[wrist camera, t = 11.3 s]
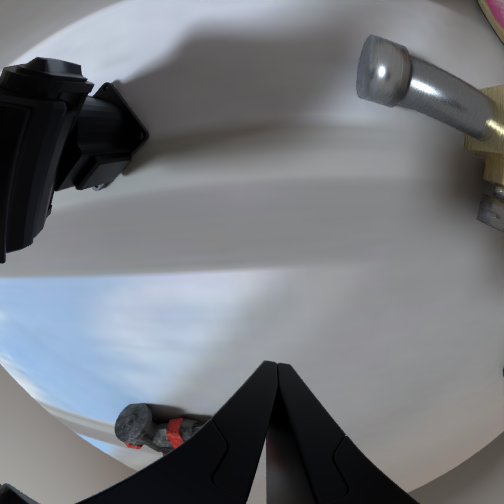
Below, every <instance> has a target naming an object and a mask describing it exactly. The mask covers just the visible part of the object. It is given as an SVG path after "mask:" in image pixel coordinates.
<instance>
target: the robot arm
mask: <svg viewBox="0 0 504 504" xmlns="http://www.w3.org/2000/svg"><path fill="white" fill-rule="evenodd" d="M93 87H94V84H93V83H91V82H88V81H87V78H85V77H83V75H82V73H81V65H78V64H75V63H71V62H67V61H62V60H58V59H52V58H42V57H36V58H35V59H33V60H32V61H30V62H28V63H27V64H20V65H14V66H9V67H5V68H3V71H2V74H1V76H0V263H5V261H6V253H10V252H14V251H18V250H21V249H23V248H25V247H27V246H29V245H31V244H32V243H33V238H34V237H36V236H37V234H38V233H39V232H40V231H41V230H42V229H43V227H44V224H45V220H46V218H47V217H48V216H49V215H50V214H51V209H52V205H51V203H52V198H53V194H54V191H60V190H63V189H66V188H70V187H73V186H75V188H76V189H77V190H83V189H87V188H90V187H92V188H93V189H94V190H95V191H99V190H101V189H102V188H103V187H104V186H105V185H106V184H107V183H108V182H112V181H113V180H114V179H115V178H116V177H117V176H118V174H119V173H120V172H121V171H122V170H123V169H124V168H125V167H126V166H127V165H128V164H129V163H130V161H131V159H132V155H133V154H134V153H135V152H136V151H137V150H138V149H139V148H140V147H141V146H142V145H143V144H144V143H145V142H146V141H147V139H148V137H149V133H148V131H147V130H146V128H145V127H144V126H143V124H142V123H141V122H140V120H139V119H138V118H137V116H136V115H135V114H134V112H133V111H132V110H131V108H130V107H129V106H128V104H127V103H126V102H125V100H124V99H123V98H122V96H121V95H120V94H119V92H118V91H117V90H116V88H115V87H114V85H113V84H112V83H108V82H106V83H104V84H103V85H102V86H101V87H100V88H99V90H98V91H97V92H96V93H95V94H94V95H93V96H88V93H91V91H92V89H93ZM107 87H108V89H107V91H106V88H107ZM141 133H143V138H142V139H141V138H140V134H141ZM97 185H99V186H97ZM345 435H346V434H345V433H344V432H343V430H342V429H341V428H340V427H339V425H338V424H337V423H336V422H335V421H334V419H333V418H332V417H331V416H330V414H329V413H328V412H327V411H326V409H325V408H324V407H323V406H322V404H321V403H320V402H319V401H318V399H317V398H316V397H315V396H314V394H313V393H312V392H311V390H310V389H309V388H308V387H307V385H306V384H305V383H304V382H303V380H302V379H301V378H300V376H299V375H298V374H297V372H296V371H295V370H294V369H293V367H292V366H291V365H290V364H285V363H278V364H277V363H276V362H272V361H266V360H265V361H263V362H262V363H261V365H260V366H259V367H258V368H257V369H256V370H255V371H254V373H253V374H252V375H251V376H250V377H249V378H248V379H247V380H246V381H245V383H244V384H243V385H242V386H241V387H240V388H239V389H238V390H237V391H236V392H235V393H234V395H233V396H232V397H231V398H230V399H229V400H228V401H227V402H226V403H225V404H224V405H223V406H222V407H221V408H220V409H219V410H218V411H217V412H216V413H215V414H214V415H213V416H212V417H211V419H210V420H208V421H207V422H206V423H205V424H204V425H203V426H202V427H201V428H200V429H199V430H198V431H197V432H195V433H194V434H193V435H192V436H191V437H190V438H189V439H187V440H186V441H185V442H183V443H182V444H181V445H179V446H178V447H176V448H175V449H174V450H172V451H171V452H169V453H167V454H166V455H164V456H163V457H161V458H160V459H158V460H157V461H155V462H153V463H152V464H150V465H148V466H147V467H145V468H143V469H142V470H140V471H138V472H137V473H135V474H133V475H131V476H130V477H128V478H126V479H124V480H122V481H121V482H119V483H117V484H115V485H113V486H111V487H109V488H107V489H105V490H103V491H101V492H99V493H97V494H95V495H93V496H91V497H89V498H87V499H84V500H82V501H80V502H78V503H75V504H246V502H247V500H248V497H249V493H250V490H251V487H252V484H253V480H254V477H255V474H256V470H257V467H258V463H259V460H260V456H261V453H262V449H263V445H264V442H265V438H266V496H267V504H420V503H418V502H417V501H416V500H415V499H413V498H412V497H411V496H410V495H409V494H407V493H406V492H405V491H404V490H403V489H401V488H400V487H399V486H398V485H397V484H395V483H394V482H393V481H392V480H391V479H390V478H388V477H387V476H386V475H385V474H384V473H383V472H382V471H381V470H379V469H378V468H377V467H376V466H375V465H374V464H373V463H372V462H371V461H370V460H369V459H368V458H367V457H366V456H365V455H364V454H363V453H362V452H361V451H360V450H359V449H358V447H357V446H356V445H355V444H354V443H353V442H352V440H351V439H350V438H349V437H348V436H345ZM0 504H39V503H38V502H36V501H34V500H33V499H31V498H29V497H28V496H26V495H25V494H23V493H22V492H20V491H19V490H17V489H16V488H14V487H13V486H11V485H10V484H6V483H5V484H3V485H1V484H0Z"/></svg>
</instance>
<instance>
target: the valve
mask: <svg viewBox="0 0 504 504" xmlns="http://www.w3.org/2000/svg"><path fill="white" fill-rule="evenodd" d="M202 426H203V425H202V424H201V423H200V422H199V421H197V420H191V419H188V418H178V419H170V421H169V423H164V424H156V423H154V422H153V421H152V412H151V409H150V408H149V407H148V406H147V405H146V404H144V403H140V404H130V405H128V406H127V407H126V408H125V409H124V410H123V411H122V412H121V413H120V415H119V416H118V418H117V420H116V423H115V434H116V436H117V438H118V439H119V440H121V441H123V442H124V443H125V444H126V445H127V447H130V448H135V449H140V448H141V447H142V446H143V445H144V444H145V445H147V446H149V447H150V448H152V449H154V450H156V451H157V452H162V453H163V456H164V455H166V454H167V453H169V452H171V451H172V450H174V449H175V448H176V447H178V446H179V445H181V444H182V443H183V442H185V441H186V440H187V439H189V438H190V437H191V436H192V435H193V434H194V433H195V432H197V431H198V430H199V429H200V428H201V427H202Z"/></svg>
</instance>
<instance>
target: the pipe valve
mask: <svg viewBox="0 0 504 504" xmlns="http://www.w3.org/2000/svg"><path fill="white" fill-rule="evenodd" d="M356 88H357V95H358V97H359V98H362V99H365V100H368V101H372V102H375V103H378V104H381V105H384V106H387V107H394V106H396V105H397V104H399V105H402V106H405V107H407V108H410V109H413V110H415V111H418V112H420V113H422V114H425V115H427V116H430V117H432V118H434V119H436V120H439V121H441V122H443V123H445V124H447V125H449V126H451V127H453V128H455V129H457V130H459V131H461V132H463V133H465V134H466V138H465V146H464V149H465V150H467V151H469V152H471V153H473V154H475V155H477V156H478V157H480V158H482V159H484V160H486V164H485V171H484V177H483V179H484V180H486V181H488V182H490V183H492V184H494V191H493V195H494V196H495V197H498V198H500V199H502V200H504V85H500V86H494V87H489V88H484V89H479V90H478V89H476V88H475V87H473V86H471V85H470V84H468V83H466V82H465V81H463V80H461V79H459V78H458V77H456V76H454V75H452V74H450V73H448V72H447V71H445V70H443V69H441V68H439V67H437V66H435V65H433V64H430V63H428V62H426V61H424V60H422V59H419V58H417V57H415V56H413V55H410V54H409V52H408V50H407V48H406V47H405V46H403V45H400V44H398V43H395V42H392V41H389V40H387V39H384V38H381V37H378V36H375V35H370V36H369V37H368V38H367V39H366V41H365V43H364V46H363V49H362V52H361V56H360V60H359V65H358V71H357V81H356Z"/></svg>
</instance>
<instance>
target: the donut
mask: <svg viewBox="0 0 504 504" xmlns="http://www.w3.org/2000/svg"><path fill="white" fill-rule="evenodd" d="M477 1H478V3H479V5H480V7H481V9H482V11H483V13H484V14H485V16H486V18H487V20H488V21H489V23H490V24H491V26H492V28H493V29H494V31H495V32H496V34H497V35H498V37H499V38H500V39H501V41H502V42H503V43H504V0H477Z"/></svg>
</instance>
